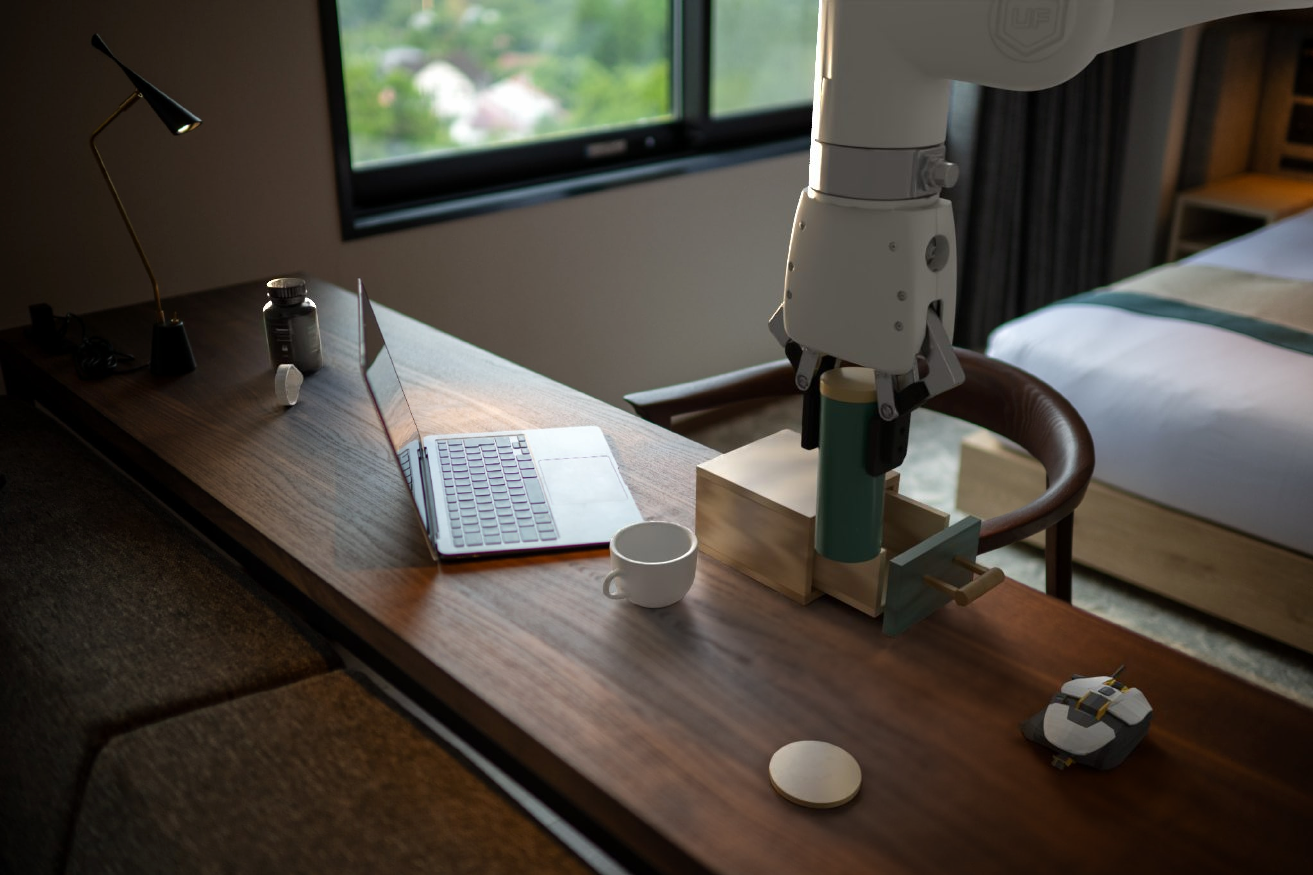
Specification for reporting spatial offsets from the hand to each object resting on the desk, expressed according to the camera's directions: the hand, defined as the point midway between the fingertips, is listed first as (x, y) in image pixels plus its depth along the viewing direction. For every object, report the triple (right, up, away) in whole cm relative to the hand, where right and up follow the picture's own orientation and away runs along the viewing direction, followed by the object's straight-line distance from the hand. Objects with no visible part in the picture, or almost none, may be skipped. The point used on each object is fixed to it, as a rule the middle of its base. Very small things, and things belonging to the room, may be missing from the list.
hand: (851, 453), depth 71 cm
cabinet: (0, -10, +34) cm, 36 cm away
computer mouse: (+20, -21, +11) cm, 31 cm away
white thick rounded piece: (-59, +5, +68) cm, 90 cm away
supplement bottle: (-62, +10, +79) cm, 101 cm away
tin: (0, -6, +3) cm, 7 cm away
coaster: (-1, -23, +6) cm, 23 cm away
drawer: (+8, -13, +26) cm, 30 cm away
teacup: (-14, -13, +27) cm, 33 cm away
